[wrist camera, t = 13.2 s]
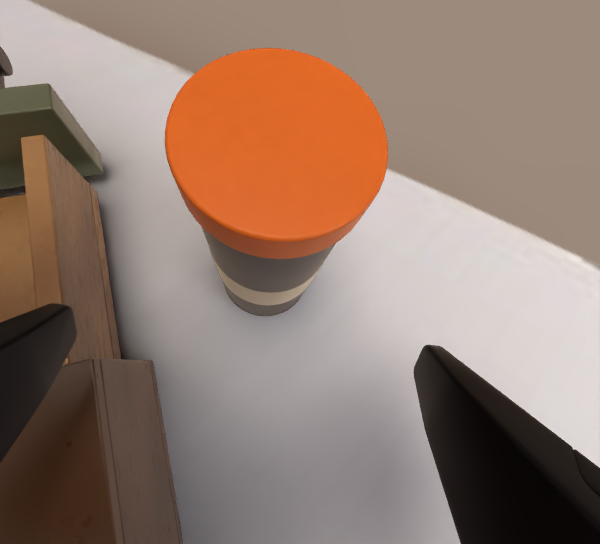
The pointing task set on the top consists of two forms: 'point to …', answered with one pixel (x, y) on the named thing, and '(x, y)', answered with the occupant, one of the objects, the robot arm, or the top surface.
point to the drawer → (52, 218)
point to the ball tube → (274, 167)
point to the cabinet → (92, 462)
